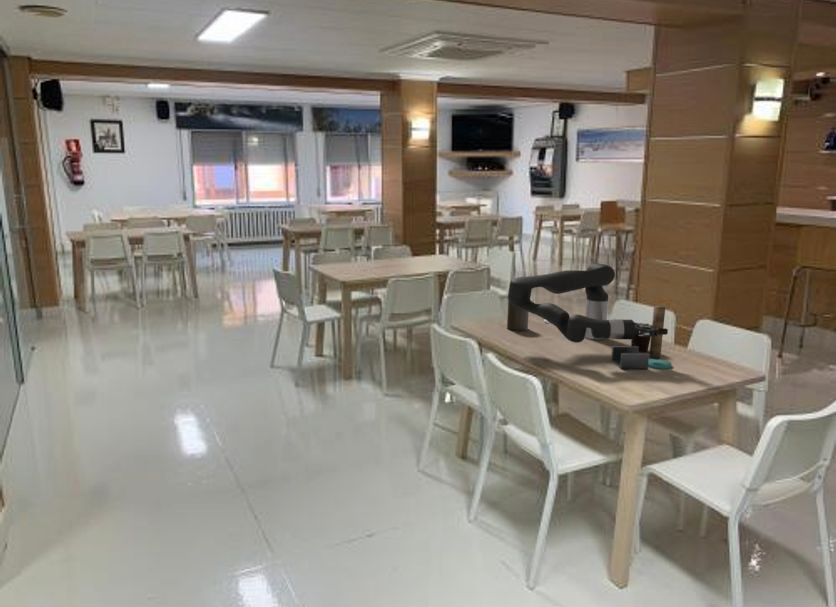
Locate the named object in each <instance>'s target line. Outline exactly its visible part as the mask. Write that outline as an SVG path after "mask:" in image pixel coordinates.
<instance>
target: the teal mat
mask: <svg viewBox="0 0 836 607" xmlns="http://www.w3.org/2000/svg"><path fill="white" fill-rule="evenodd" d="M672 365H673V364H672V363H671V362H669V361H667V360H664V359H658V360H656V359H651V358H649V361H648V368H651V369H656V370H669V369H671V368H672Z"/></svg>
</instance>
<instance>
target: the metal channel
mask: <svg viewBox="0 0 836 607" xmlns="http://www.w3.org/2000/svg"><path fill="white" fill-rule="evenodd" d="M649 354H650V353H640V352H639V347H638V346H631V345H612V346H611V356H610V361H611V362H612V363H613V364H614V365H615V366H616V367H618V369H620V370H621V371H622V370H623V371H625V370H627V371H628V370H629V371H632V370H634V371H638V370H639V371H647V370H649V367H648V361H649V359H650V358H649Z"/></svg>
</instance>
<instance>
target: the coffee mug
mask: <svg viewBox="0 0 836 607" xmlns="http://www.w3.org/2000/svg"><path fill="white" fill-rule="evenodd" d="M650 343H651V337H644V336H638V335H637V334H635V336H634V338H633V339H630V346H638V347H639V352H638V353H647V351H649V348H650Z"/></svg>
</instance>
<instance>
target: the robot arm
mask: <svg viewBox="0 0 836 607" xmlns="http://www.w3.org/2000/svg"><path fill="white" fill-rule="evenodd" d="M615 277H616V272H615V269H614V268H613V267H612V266H610V265H609V264H604V263H599V262H593V263H590V264H589V265H588V266H587V269H586V270H577V269H568V270H567V269H566V270H561V271H555V272H552V273H546V274H540V275H530V276H519V277H518V276H517V277H515V278H513V279H511V280H510V282H509V285H508V293H507V301H509V302H510V303H511V304H513V305H514V306H516V307H519V308H521V309H523V310H526V311H528V312H529V313H531V314H533V315H536V316H537V317H540V318H542V319H543V320H547V321H548V322H550V323H549V324H550V325H551V324H553V325H552V326H555V328H557V329H558V331H559V332H560V333H561V334H562V335H563V337H565V339H567V340H568V341H570V342H572V343H575V344H576V343H582V342H583V341H584V340H585V339H588V340H593V339H595V340H597V341H598V340H599V341H600V340H601V339H602V340H606V339H611V340H631V339H633V338H634V336H635V334H637V335H638V336H644V337H655V336H658V335H663V336H664V335H665V336H666V335H668V331H669V329H668V328H665V327H663V328H652V324H649V323H642V322H635V321H634V320H633V319H623V318H622V319H621V318H620V319H618V318H617V319H607V318H608V306H609V294H608V293H607V291H606V290H605V289H604V286H605V287H606V286H608V285H610V284H611V283H612V282H613V281H614V280H615ZM535 288H536V289H537V288H542V289H545V290H546V291H547V292H550V293H552V294H555V295H556V294H557V295H560V294H564V293H565V294H566V293H569V292H572V291H578V290H581V289H584V292H585V294H586V303H585V315H583V314H582V315H581V314H573V315H572V316H570V314H569V313H568V311H567V310H564V309H563V308H561V307H560V306H558V305H556V304H554V303H550V302H544V303H535V302H534V301H532V300H531V297H532V291H533V289H535ZM653 332H654V333H653Z"/></svg>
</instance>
